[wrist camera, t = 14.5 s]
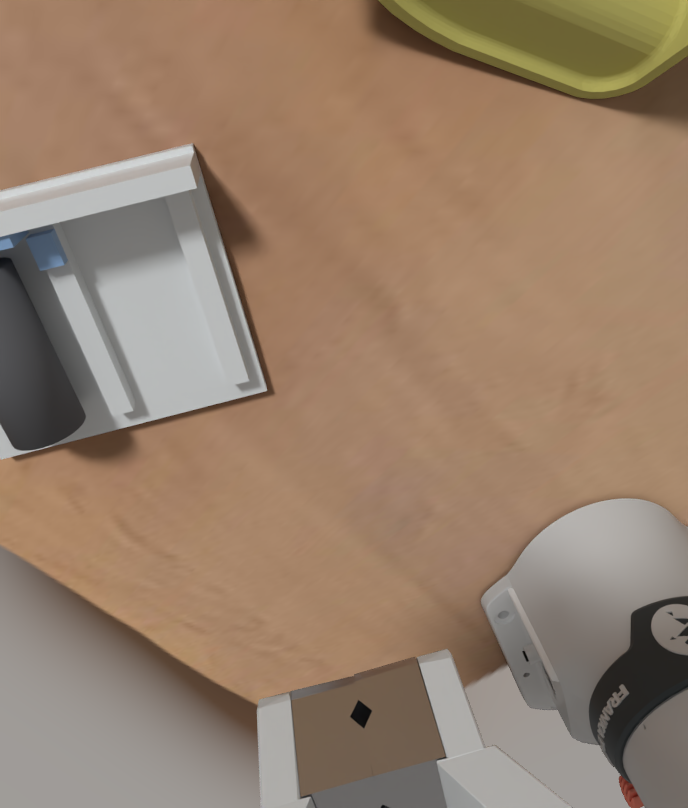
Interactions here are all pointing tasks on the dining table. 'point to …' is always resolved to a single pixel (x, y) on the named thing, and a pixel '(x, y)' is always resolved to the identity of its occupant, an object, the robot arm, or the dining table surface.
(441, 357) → the dining table surface
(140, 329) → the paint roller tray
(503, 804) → the robot arm
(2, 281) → the gray roller in tray
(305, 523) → the dining table surface
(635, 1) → the plastic component
